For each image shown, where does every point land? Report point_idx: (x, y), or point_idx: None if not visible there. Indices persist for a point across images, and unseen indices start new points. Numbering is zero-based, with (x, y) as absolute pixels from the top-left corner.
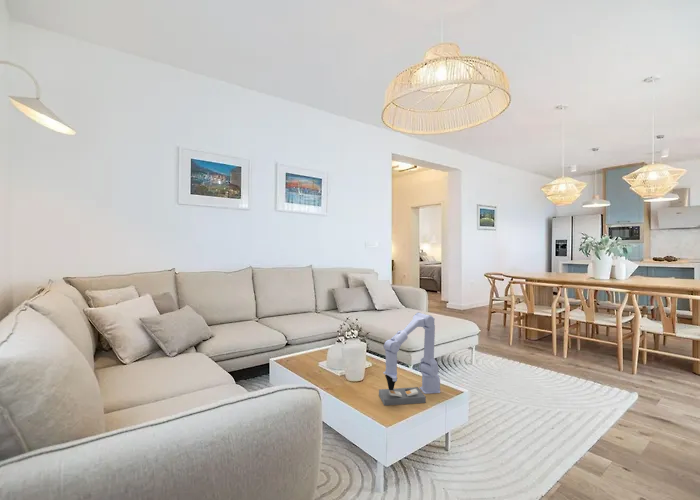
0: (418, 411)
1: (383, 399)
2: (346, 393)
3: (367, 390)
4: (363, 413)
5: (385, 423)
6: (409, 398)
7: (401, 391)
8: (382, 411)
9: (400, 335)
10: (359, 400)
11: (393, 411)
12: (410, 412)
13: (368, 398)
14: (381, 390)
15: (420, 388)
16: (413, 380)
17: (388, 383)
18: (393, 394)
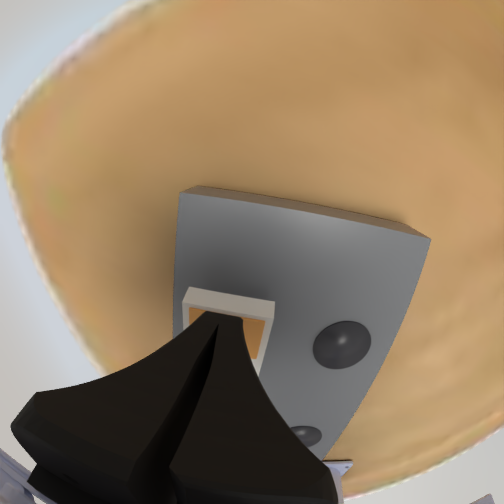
0: (103, 362)
1: (220, 195)
2: (471, 19)
3: (492, 176)
4: (142, 6)
5: (18, 130)
6: None
7: (301, 403)
8: (120, 141)
9: None
10: (360, 25)
11: (106, 225)
12: (92, 322)
13: (380, 106)
14: (402, 255)
15: (337, 463)
16: (425, 450)
17: (139, 362)
18: (186, 320)
